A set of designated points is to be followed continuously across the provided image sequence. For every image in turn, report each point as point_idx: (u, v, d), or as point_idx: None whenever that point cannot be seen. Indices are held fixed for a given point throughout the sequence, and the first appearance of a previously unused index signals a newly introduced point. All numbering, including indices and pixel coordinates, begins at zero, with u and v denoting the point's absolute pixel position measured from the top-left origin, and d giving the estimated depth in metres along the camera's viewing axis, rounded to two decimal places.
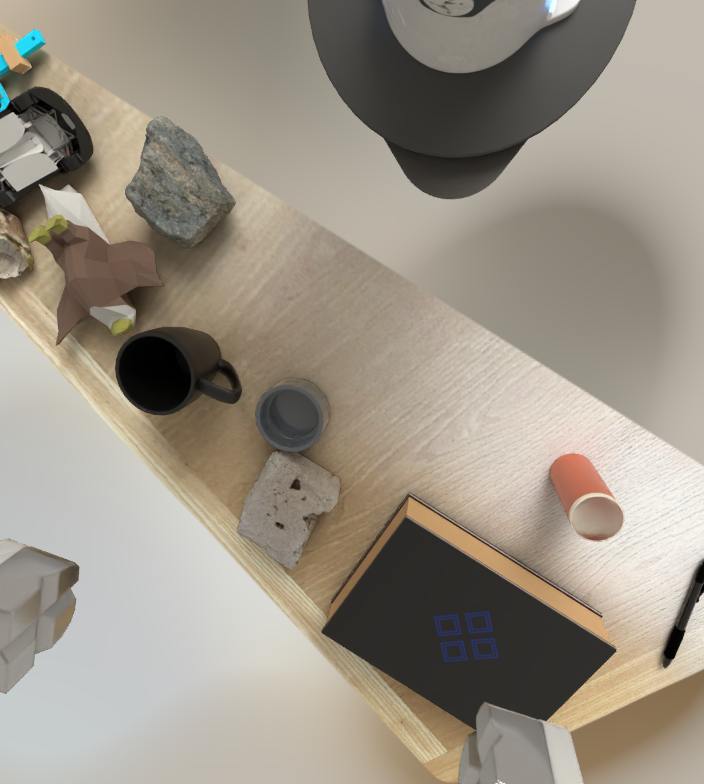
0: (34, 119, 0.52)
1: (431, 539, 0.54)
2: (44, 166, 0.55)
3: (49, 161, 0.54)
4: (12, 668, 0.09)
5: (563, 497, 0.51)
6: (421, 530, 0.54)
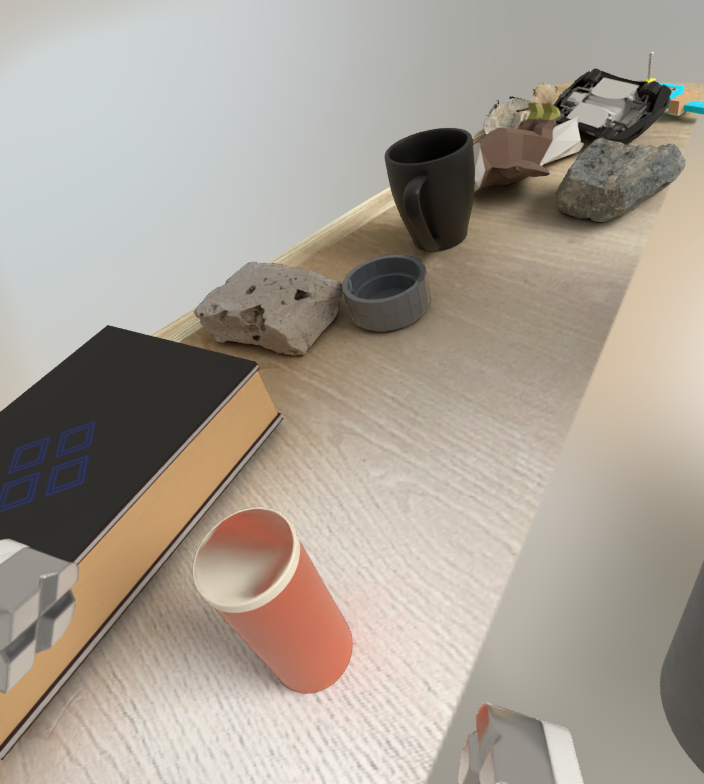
0: (637, 101, 0.60)
1: (220, 393, 0.36)
2: (596, 120, 0.61)
3: (602, 120, 0.61)
4: (12, 668, 0.09)
5: None
6: (235, 380, 0.36)
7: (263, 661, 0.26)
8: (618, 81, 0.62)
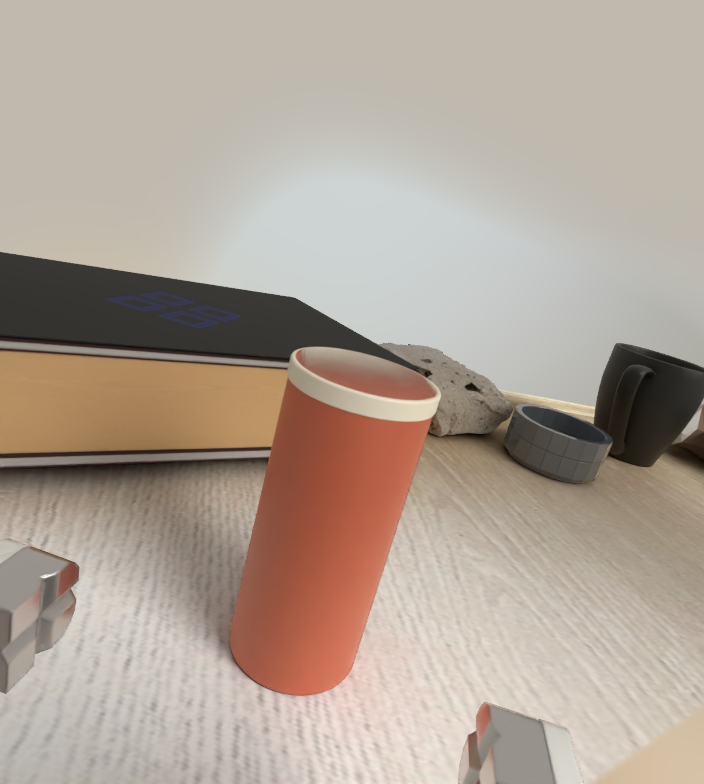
0: None
1: None
2: None
3: None
4: (12, 668, 0.09)
5: None
6: None
7: (249, 567, 0.17)
8: None
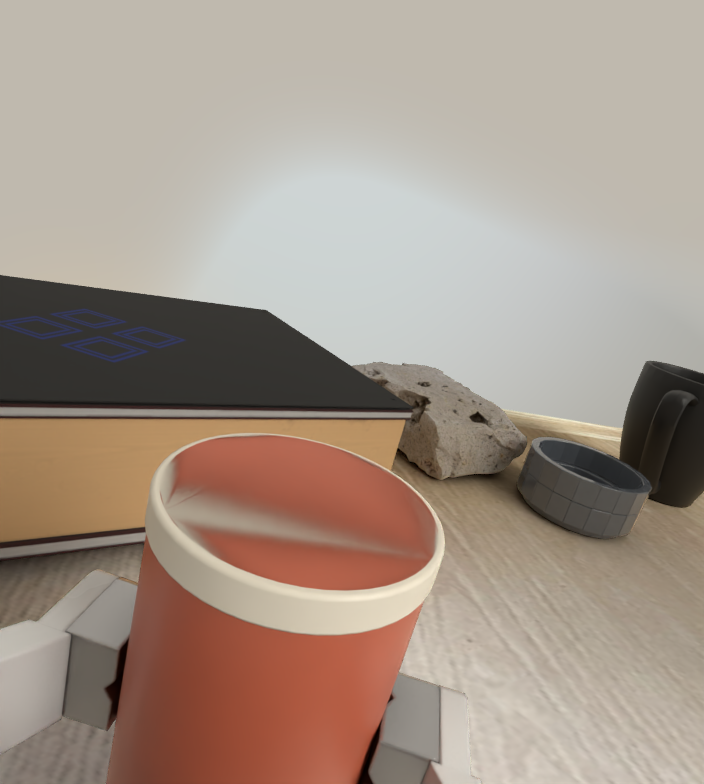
0: None
1: (350, 401, 0.24)
2: None
3: None
4: (114, 705, 0.09)
5: None
6: (377, 404, 0.24)
7: None
8: None
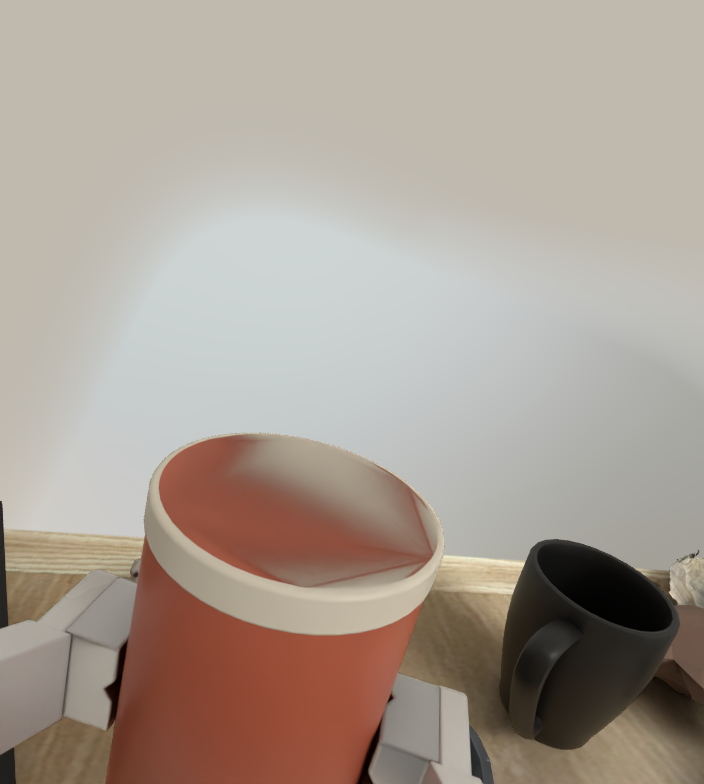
0: None
1: None
2: None
3: None
4: (114, 705, 0.09)
5: None
6: None
7: None
8: None
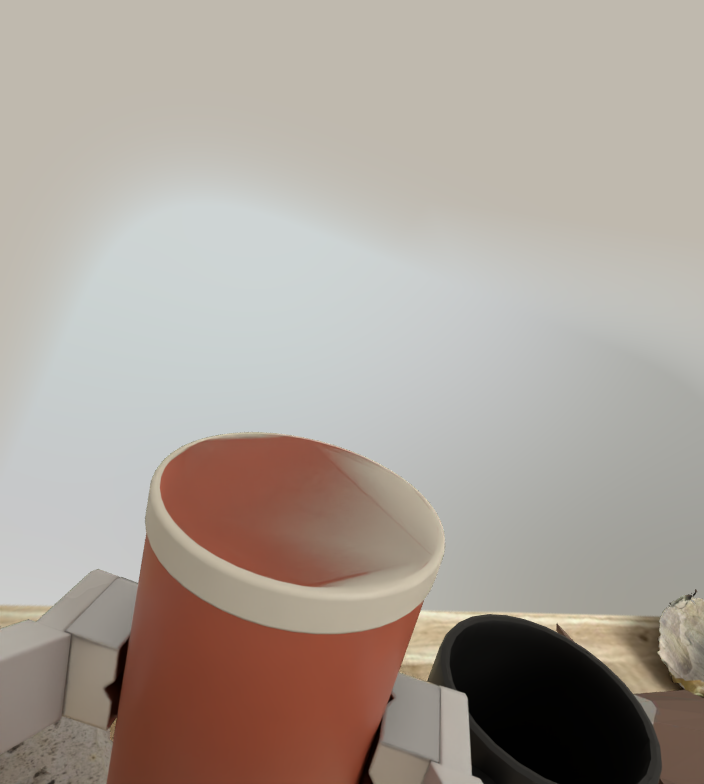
0: None
1: None
2: None
3: None
4: (114, 706, 0.09)
5: None
6: None
7: None
8: None
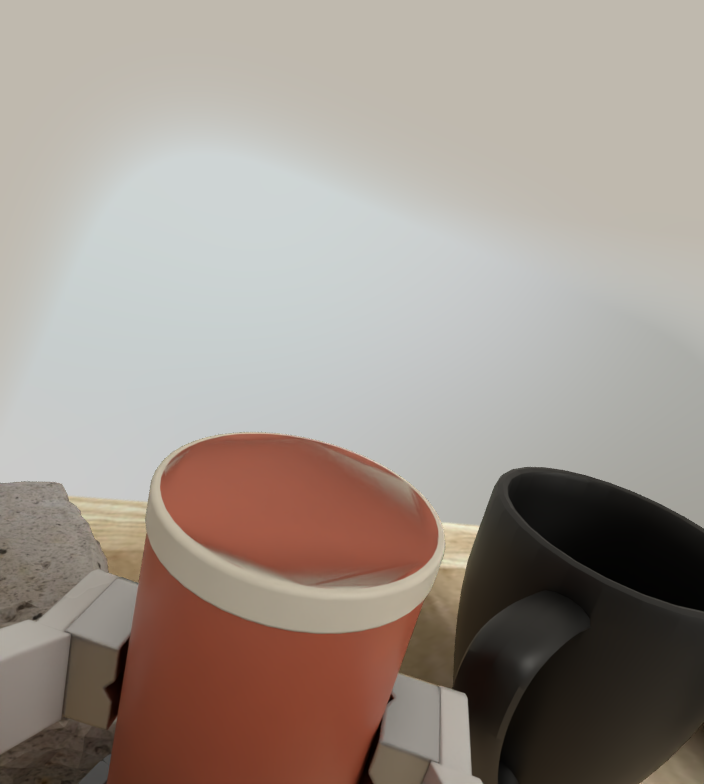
0: None
1: None
2: None
3: None
4: (114, 705, 0.09)
5: None
6: None
7: None
8: None
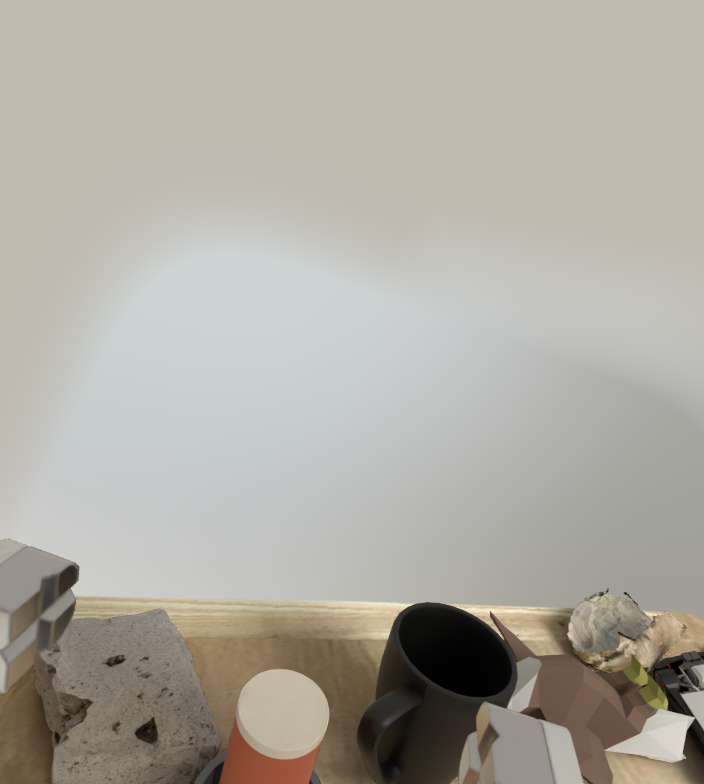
0: None
1: None
2: None
3: None
4: (12, 668, 0.09)
5: None
6: None
7: None
8: None
